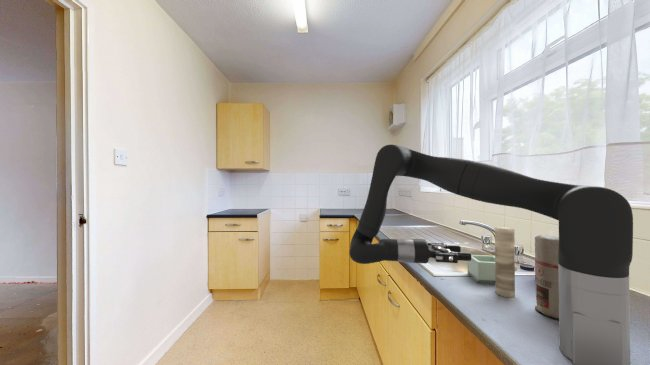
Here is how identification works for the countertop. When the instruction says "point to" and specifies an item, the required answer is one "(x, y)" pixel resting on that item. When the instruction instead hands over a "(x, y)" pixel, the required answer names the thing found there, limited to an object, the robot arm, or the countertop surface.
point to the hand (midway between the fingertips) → (465, 252)
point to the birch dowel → (505, 262)
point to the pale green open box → (482, 268)
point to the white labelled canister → (547, 275)
